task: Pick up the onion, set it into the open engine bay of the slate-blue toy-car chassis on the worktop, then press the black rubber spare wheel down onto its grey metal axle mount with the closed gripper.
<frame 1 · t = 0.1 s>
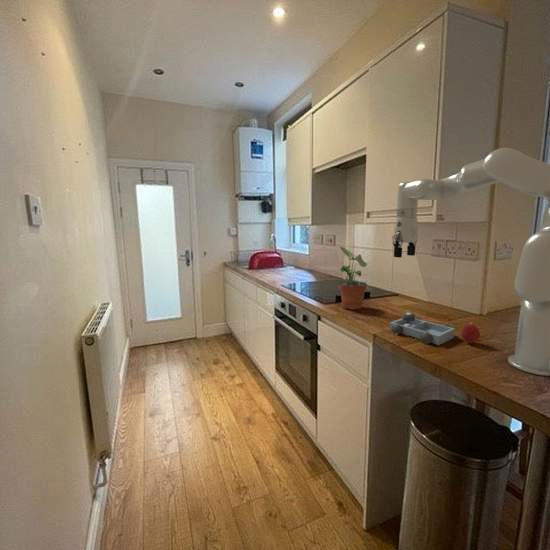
hand: (404, 256, 125), 31 cm above the worktop, tool pointing down, fingers open, 9 cm apart
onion: (469, 343, 113), on the worktop
chassis: (420, 334, 123), on the worktop
potted plant: (352, 308, 162), on the worktop
spare wheel: (408, 316, 127), point 6 cm above the worktop, slide at 0.0 cm
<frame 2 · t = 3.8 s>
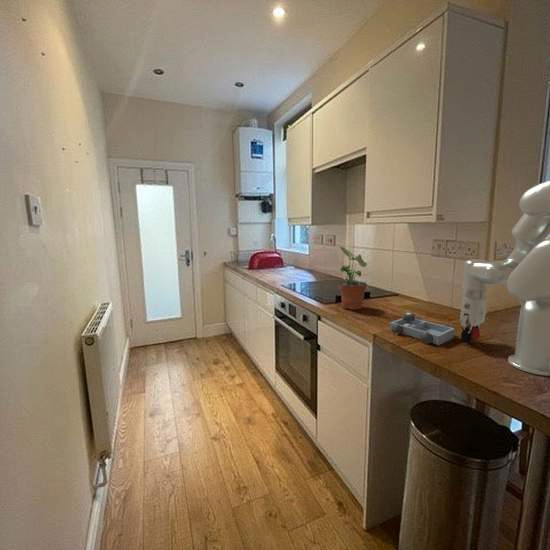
hand: (469, 340, 113), 1 cm above the worktop, tool pointing down, fingers closed on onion, 5 cm apart
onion: (469, 343, 113), on the worktop, touching gripper
everything else where it was.
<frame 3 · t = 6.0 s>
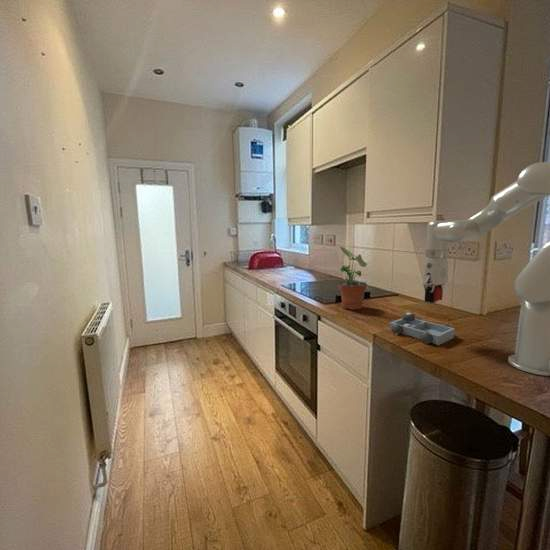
hand: (433, 300, 117), 15 cm above the worktop, tool pointing down, fingers closed on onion, 5 cm apart
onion: (433, 303, 118), point 14 cm above the worktop, touching gripper
everything else where it was.
when the fingers open (4 cm above the worktop, at t = 8.4 s): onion drops 1 cm, resting on chassis.
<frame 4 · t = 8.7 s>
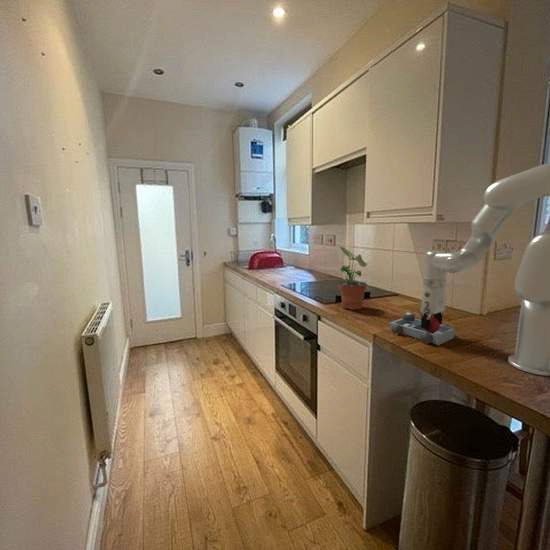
hand: (431, 325, 119), 5 cm above the worktop, tool pointing down, fingers open, 9 cm apart
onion: (431, 334, 120), point 1 cm above the worktop, touching chassis
everything else where it was.
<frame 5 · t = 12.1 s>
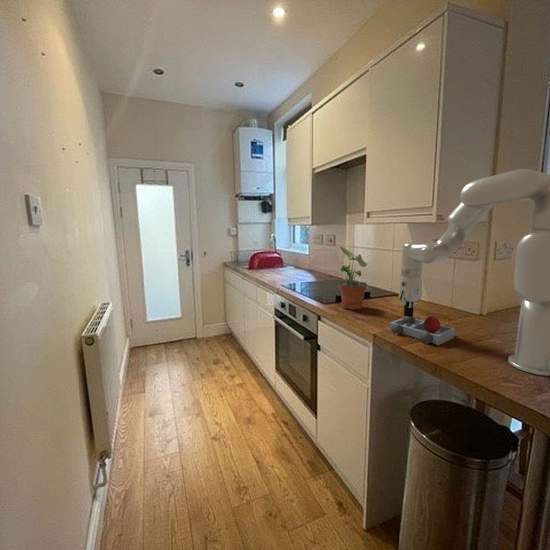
hand: (408, 316, 127), 6 cm above the worktop, tool pointing down, fingers closed
spare wheel: (408, 319, 127), point 5 cm above the worktop, slide at 1.2 cm, touching gripper
everything else where it was.
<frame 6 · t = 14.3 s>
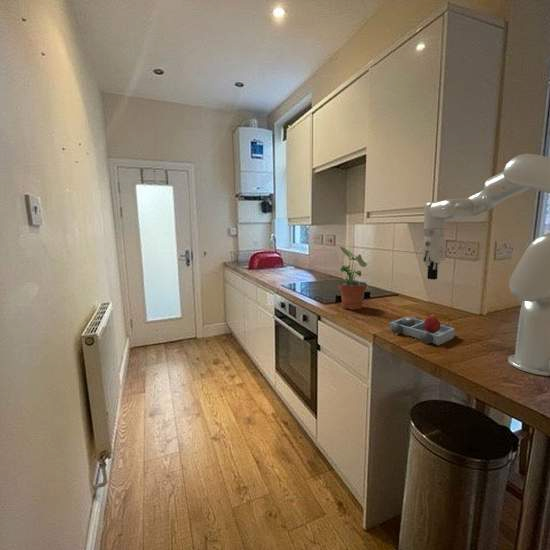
hand: (432, 278, 123), 22 cm above the worktop, tool pointing down, fingers closed
spare wheel: (408, 321, 127), point 4 cm above the worktop, slide at 2.4 cm
everything else where it was.
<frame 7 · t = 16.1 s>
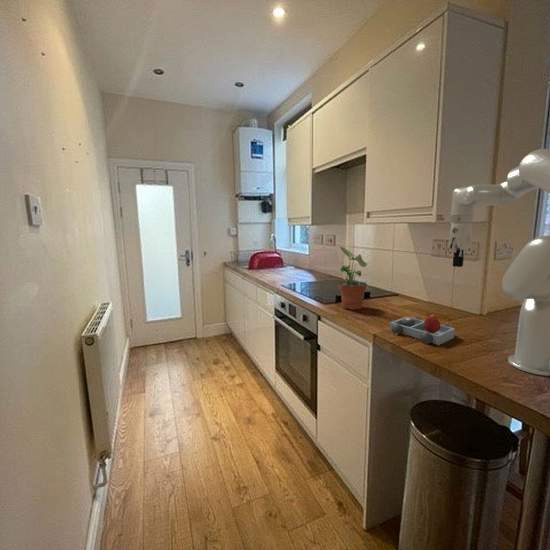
hand: (457, 266, 122), 27 cm above the worktop, tool pointing down, fingers closed
nothing on the worktop moved.
at the end: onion inside the target area on the chassis (0.1 cm from its centre), point 1.0 cm above the chassis's base; spare wheel slide at 2.4 cm; the gripper is holding nothing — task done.
